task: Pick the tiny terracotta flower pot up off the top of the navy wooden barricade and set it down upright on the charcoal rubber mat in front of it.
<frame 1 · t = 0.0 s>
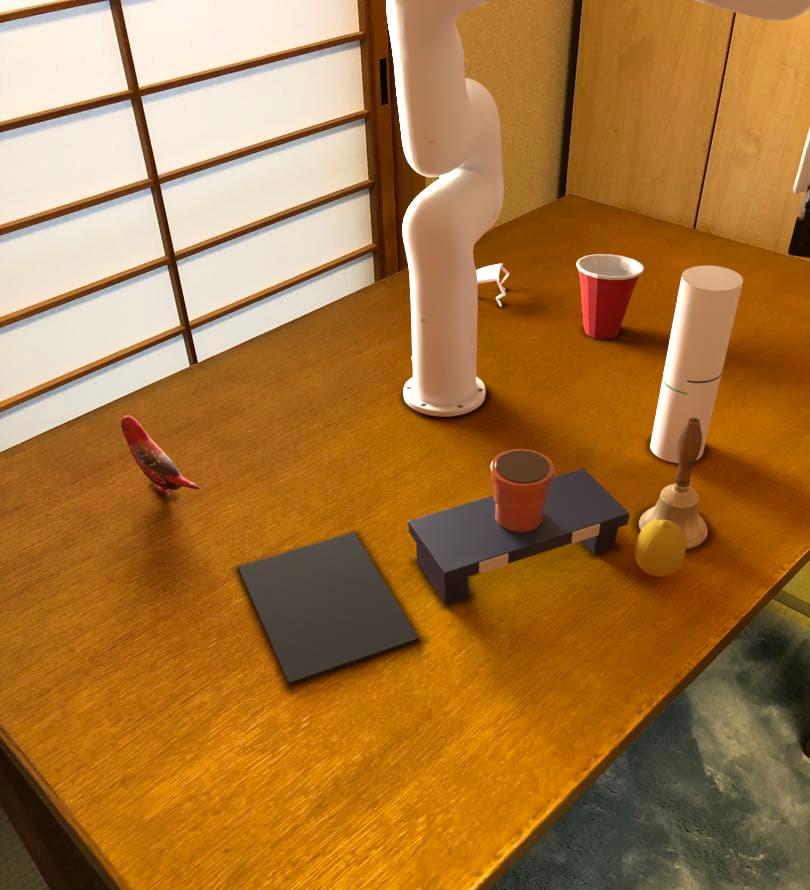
hand: (808, 239, 98), 31 cm above the table, tool pointing down, fingers open, 9 cm apart
mat: (324, 604, 101), on the table
cylindrical container: (676, 449, 122), on the table
plastic cup: (601, 331, 149), on the table
lemon: (654, 575, 103), on the table
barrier: (516, 555, 106), on the table
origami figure: (489, 298, 160), on the table
hand bell: (672, 529, 109), on the table
decorative bird figurine: (170, 498, 117), on the table
pot: (518, 516, 103), point 6 cm above the table, touching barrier
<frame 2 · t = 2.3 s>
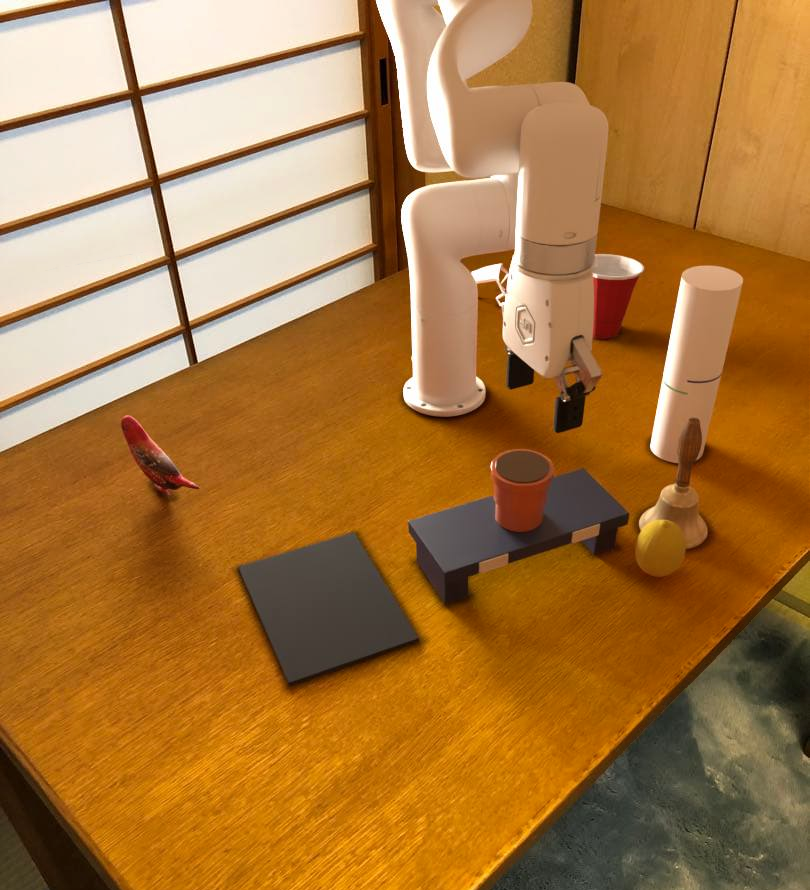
hand: (542, 406, 94), 21 cm above the table, tool pointing down, fingers open, 9 cm apart
nothing on the table moved.
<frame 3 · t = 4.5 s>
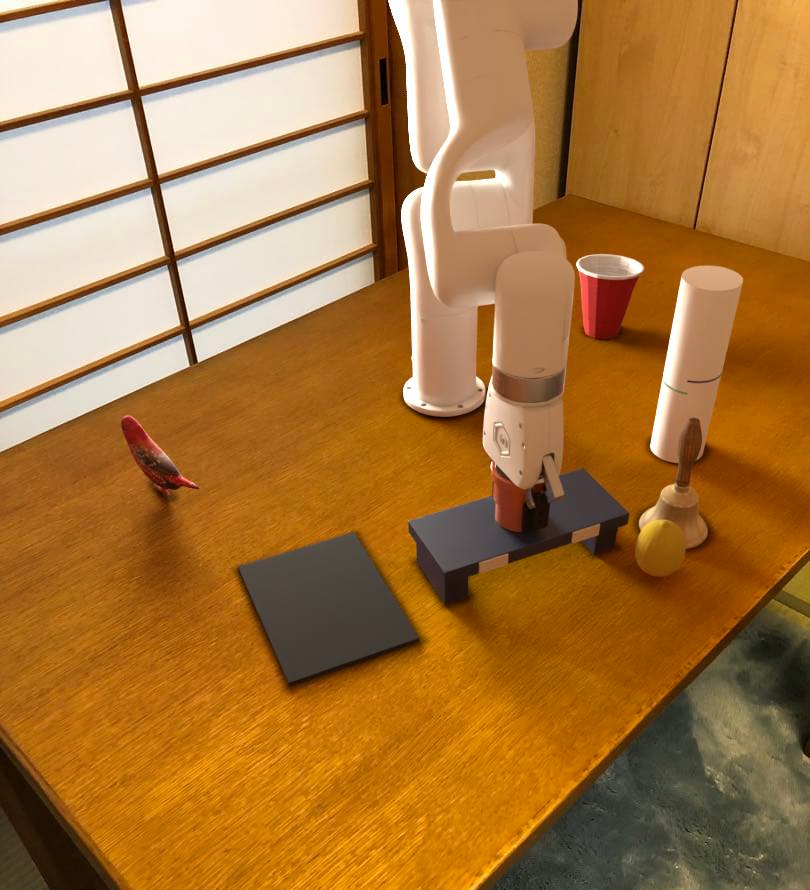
hand: (519, 510, 102), 7 cm above the table, tool pointing down, fingers closed on pot, 6 cm apart
pot: (518, 516, 103), point 6 cm above the table, touching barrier, gripper
everything else where it was.
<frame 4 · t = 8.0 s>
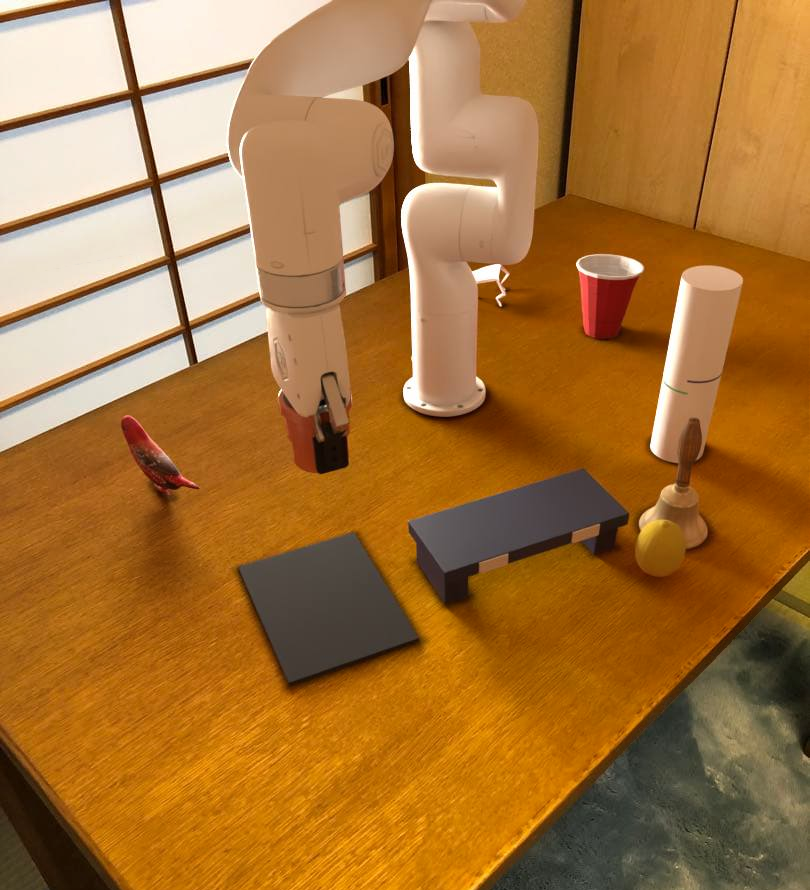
hand: (320, 449, 87), 21 cm above the table, tool pointing down, fingers closed on pot, 6 cm apart
pot: (321, 457, 88), point 20 cm above the table, touching gripper
everything else where it was.
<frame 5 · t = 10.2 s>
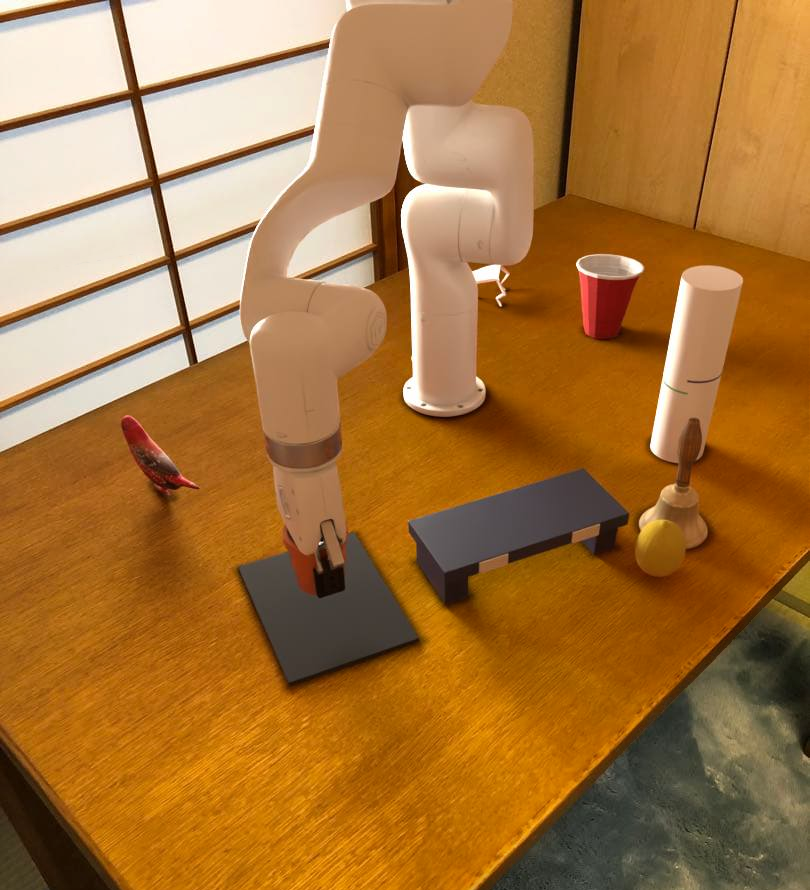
hand: (320, 572, 98), 5 cm above the table, tool pointing down, fingers closed on pot, 6 cm apart
pot: (320, 578, 98), point 4 cm above the table, touching gripper
everything else where it was.
when the fingers open (2 cm above the table, at t = 11.8 s): pot stays where it is, resting on mat.
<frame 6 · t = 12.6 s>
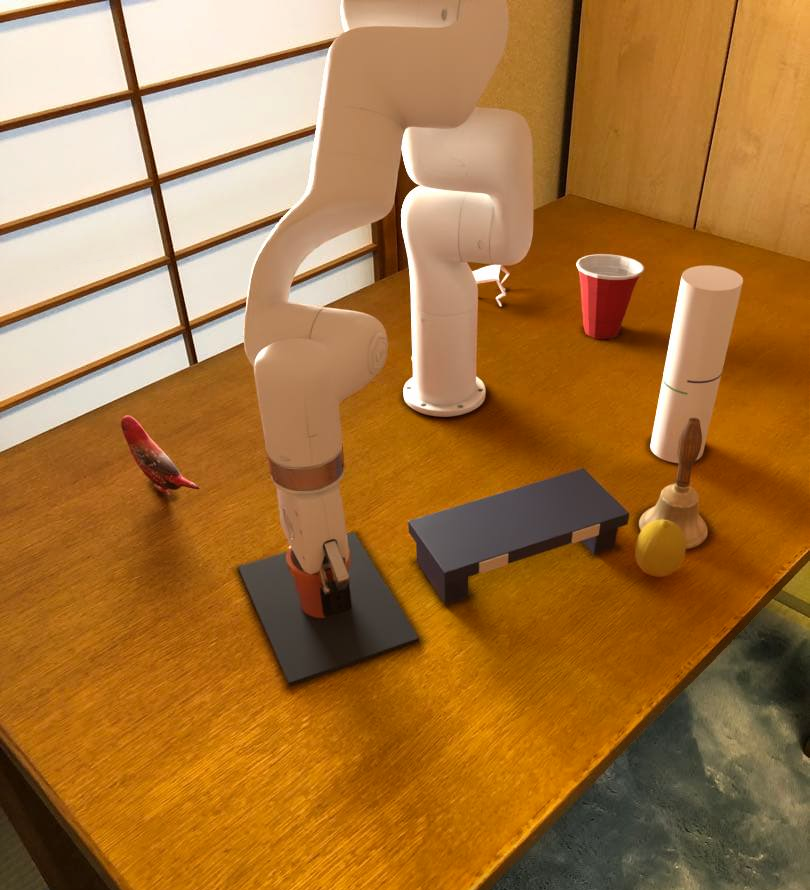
hand: (322, 584, 99), 3 cm above the table, tool pointing down, fingers open, 9 cm apart
pot: (324, 600, 101), point 1 cm above the table, touching mat
everything else where it was.
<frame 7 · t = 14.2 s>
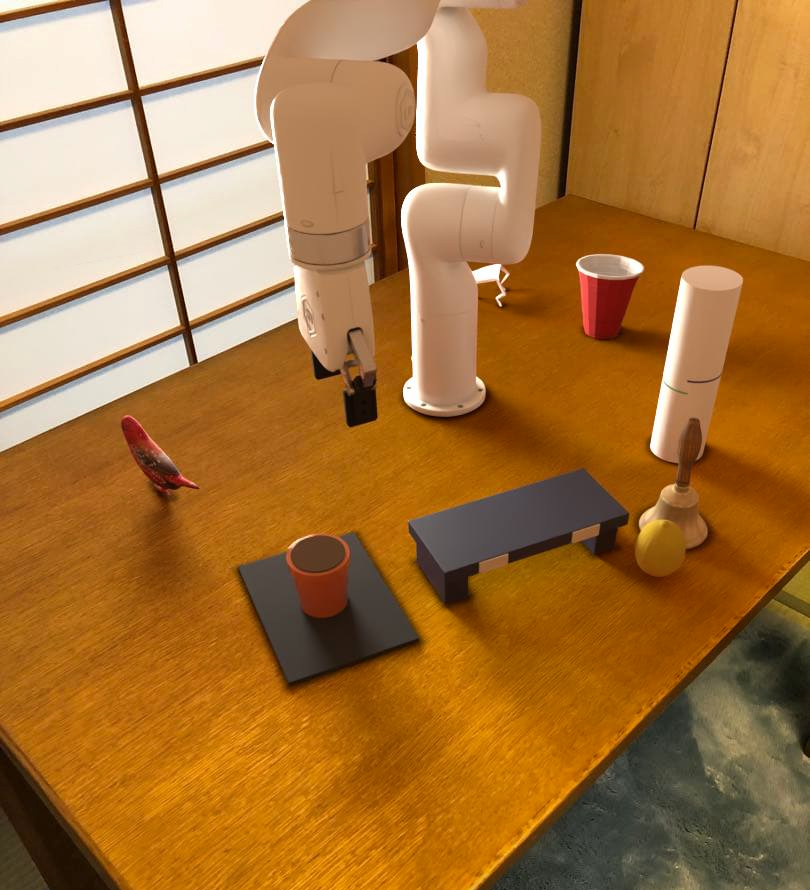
hand: (345, 398, 91), 23 cm above the table, tool pointing down, fingers open, 9 cm apart
nothing on the table moved.
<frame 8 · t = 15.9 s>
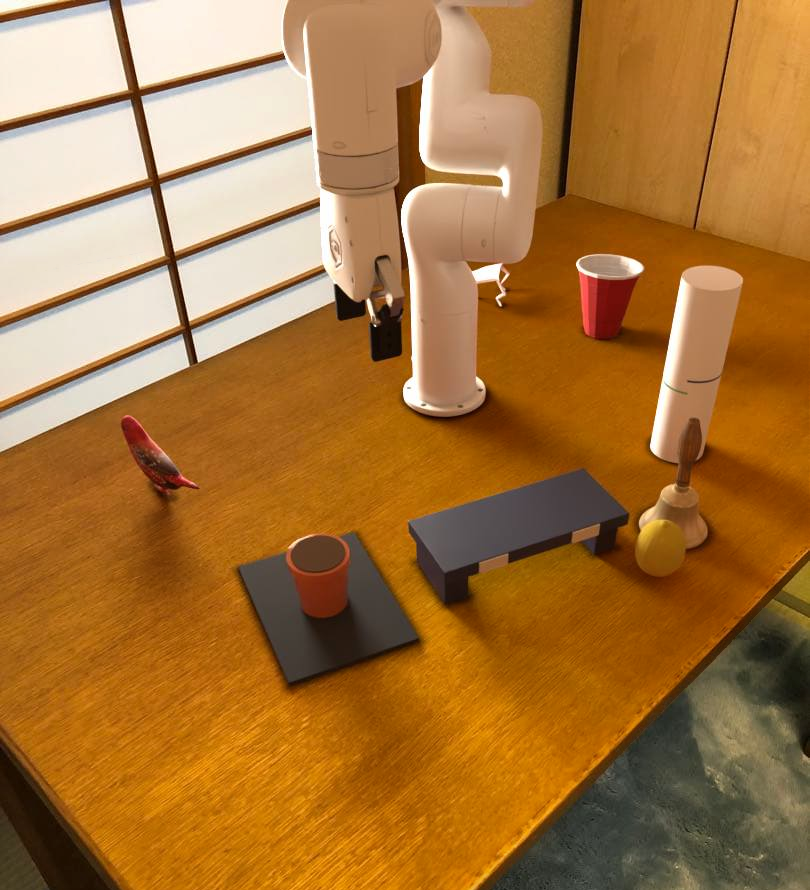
hand: (368, 336, 90), 28 cm above the table, tool pointing down, fingers open, 9 cm apart
nothing on the table moved.
at the end: pot inside the target area on the mat (0.0 cm from its centre), point 0.6 cm above the mat's base; pot tilted 0°; the gripper is holding nothing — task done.
